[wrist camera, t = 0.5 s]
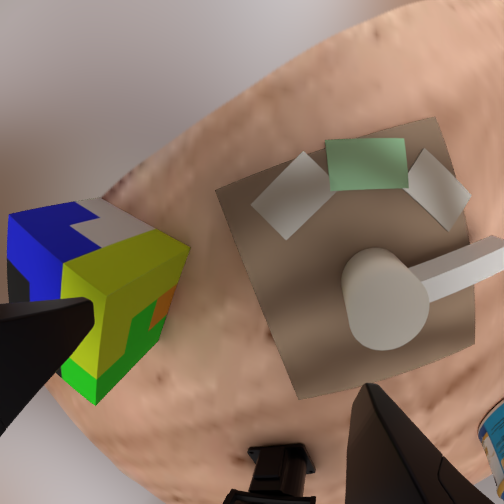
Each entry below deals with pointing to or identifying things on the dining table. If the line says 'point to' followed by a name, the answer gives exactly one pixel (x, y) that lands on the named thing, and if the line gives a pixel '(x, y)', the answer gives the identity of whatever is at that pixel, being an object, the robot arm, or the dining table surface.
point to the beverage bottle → (494, 444)
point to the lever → (409, 289)
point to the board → (350, 249)
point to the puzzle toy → (97, 282)
